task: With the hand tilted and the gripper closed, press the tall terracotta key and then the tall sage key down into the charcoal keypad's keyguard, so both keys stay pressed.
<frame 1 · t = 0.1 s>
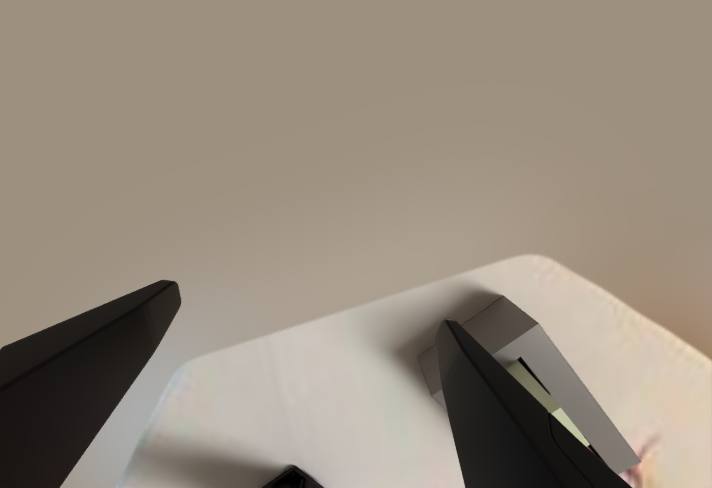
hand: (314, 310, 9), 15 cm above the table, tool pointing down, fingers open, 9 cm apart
keypad: (510, 388, 29), on the table
sage key: (523, 409, 22), point 7 cm above the table, slide at 0.0 cm
terracotta key: (587, 485, 24), point 7 cm above the table, slide at 0.0 cm
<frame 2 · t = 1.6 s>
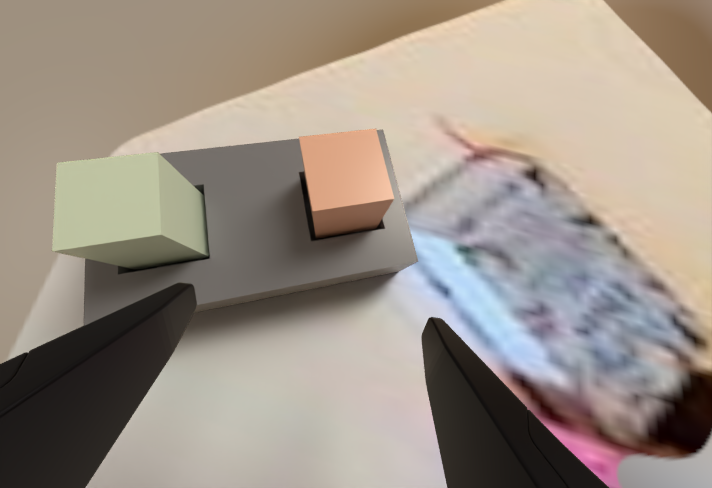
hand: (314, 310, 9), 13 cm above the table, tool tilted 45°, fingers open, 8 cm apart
keypad: (271, 233, 23), on the table
sage key: (145, 217, 15), point 7 cm above the table, slide at 0.0 cm
terracotta key: (343, 189, 17), point 7 cm above the table, slide at 0.0 cm
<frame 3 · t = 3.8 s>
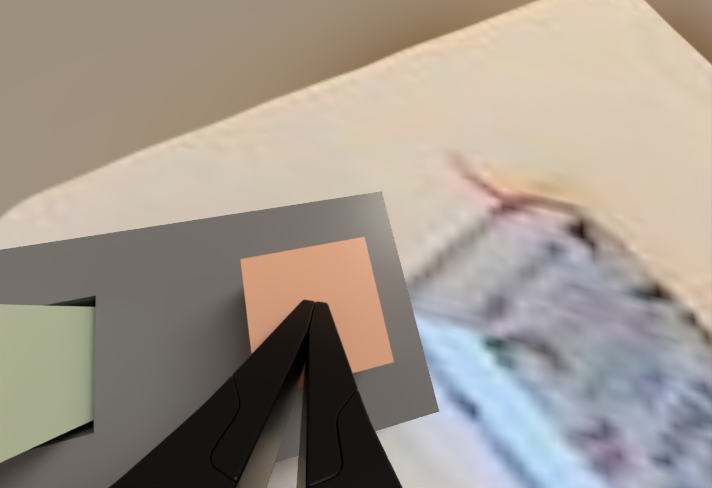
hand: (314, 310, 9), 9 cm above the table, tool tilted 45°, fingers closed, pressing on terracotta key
keypad: (223, 332, 16), on the table
terracotta key: (317, 310, 12), point 6 cm above the table, slide at 1.3 cm, touching gripper
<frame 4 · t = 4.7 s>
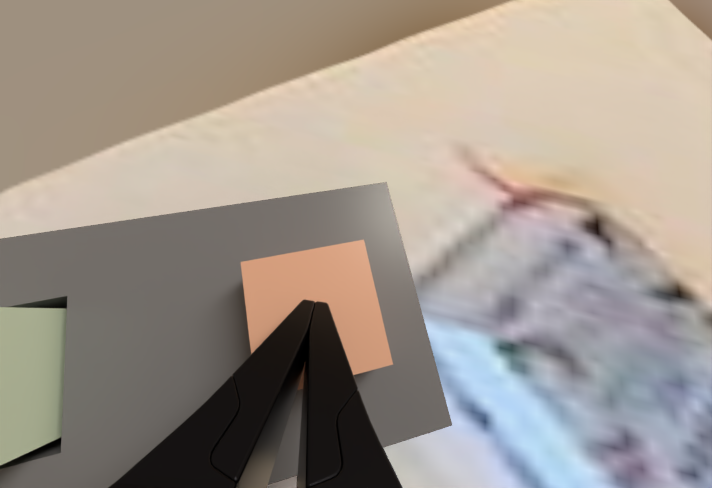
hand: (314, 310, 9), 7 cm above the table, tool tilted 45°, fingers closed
keypad: (215, 336, 15), on the table
terracotta key: (317, 312, 12), point 4 cm above the table, slide at 2.6 cm
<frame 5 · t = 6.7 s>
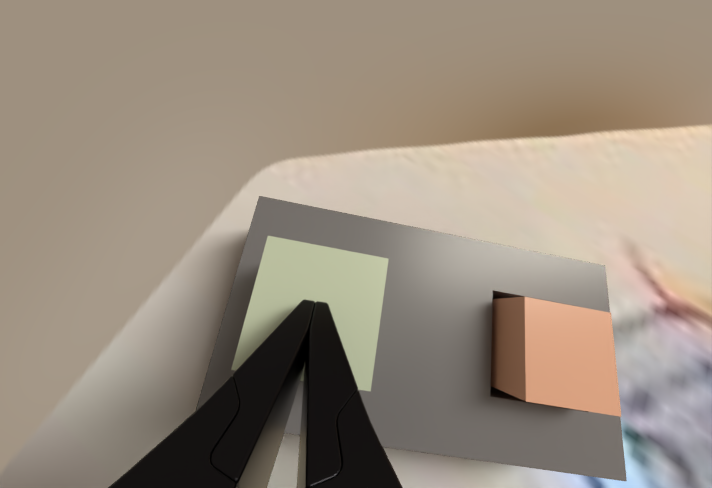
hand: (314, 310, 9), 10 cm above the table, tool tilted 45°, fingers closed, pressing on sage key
keypad: (404, 325, 18), on the table
sage key: (318, 310, 12), point 7 cm above the table, slide at 0.2 cm, touching gripper
terracotta key: (527, 346, 15), point 4 cm above the table, slide at 2.6 cm
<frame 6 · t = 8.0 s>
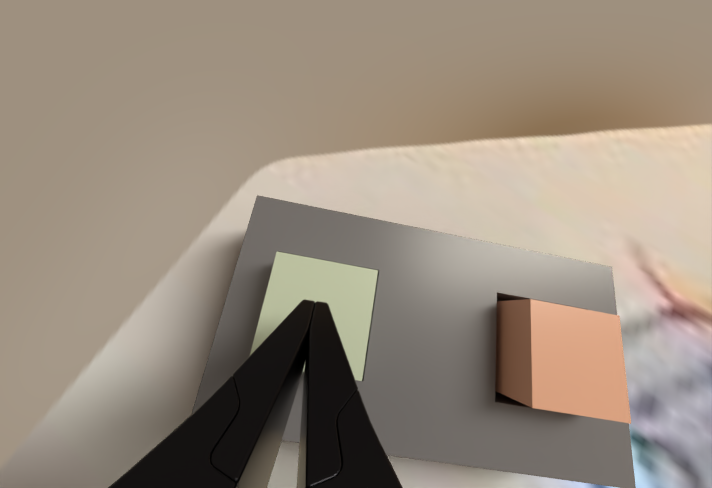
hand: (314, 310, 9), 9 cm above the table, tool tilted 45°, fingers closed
keypad: (405, 328, 18), on the table
sage key: (318, 313, 14), point 4 cm above the table, slide at 2.6 cm
terracotta key: (532, 350, 14), point 4 cm above the table, slide at 2.6 cm
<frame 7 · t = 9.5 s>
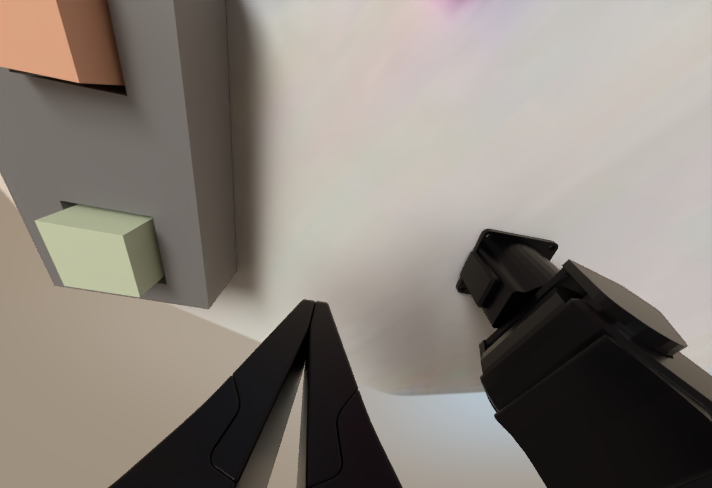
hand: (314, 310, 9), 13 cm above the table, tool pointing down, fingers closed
keypad: (153, 140, 19), on the table
sage key: (127, 240, 18), point 4 cm above the table, slide at 2.6 cm
terracotta key: (67, 18, 12), point 4 cm above the table, slide at 2.6 cm
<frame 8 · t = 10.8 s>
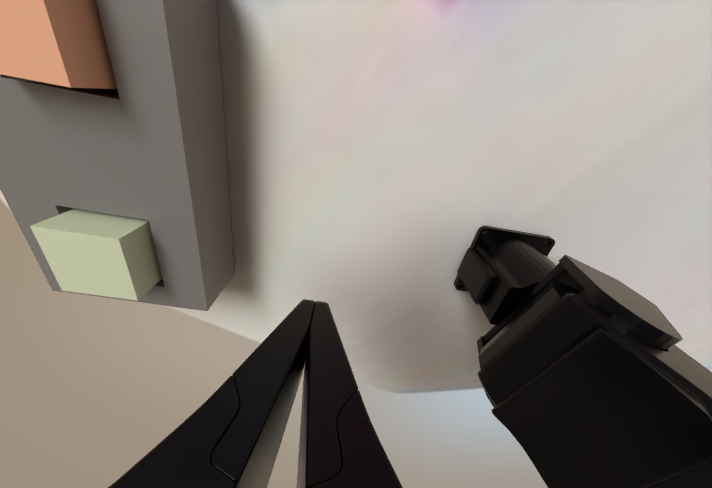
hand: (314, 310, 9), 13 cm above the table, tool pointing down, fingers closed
keypad: (148, 143, 19), on the table
sage key: (124, 243, 18), point 4 cm above the table, slide at 2.6 cm
terracotta key: (57, 22, 12), point 4 cm above the table, slide at 2.6 cm
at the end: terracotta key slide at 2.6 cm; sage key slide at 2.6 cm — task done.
